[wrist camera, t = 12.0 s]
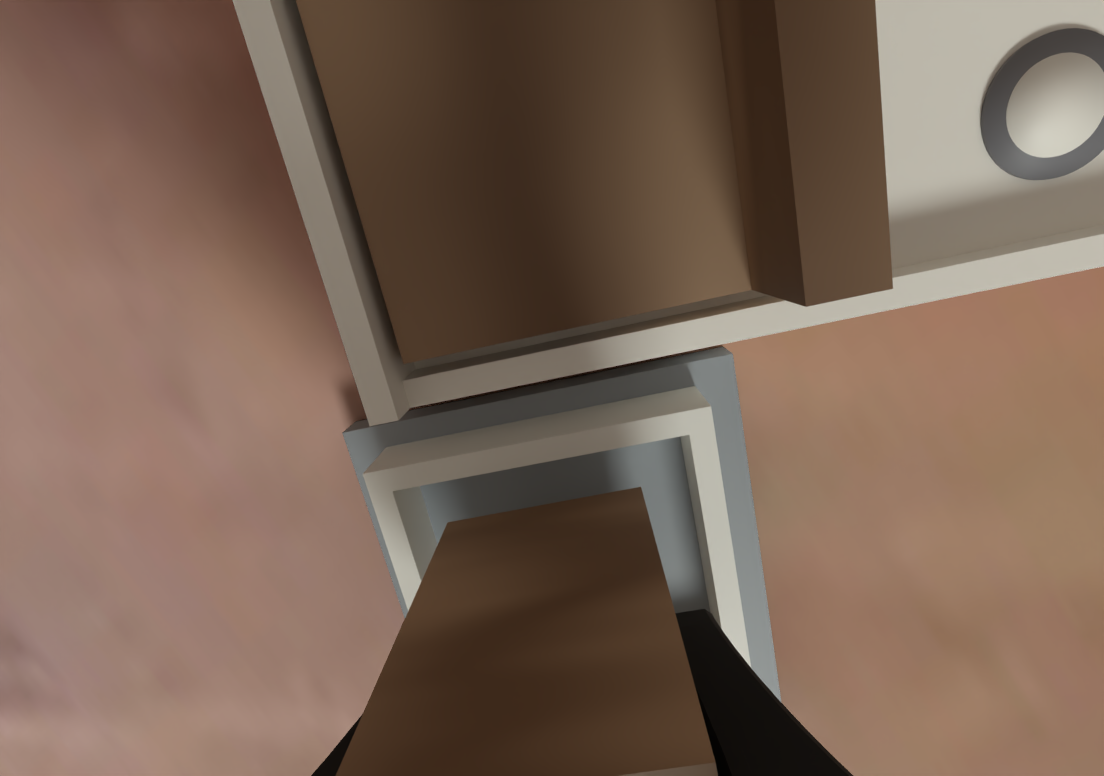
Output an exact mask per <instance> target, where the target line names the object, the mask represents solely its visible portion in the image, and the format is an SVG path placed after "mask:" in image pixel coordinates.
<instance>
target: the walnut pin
mask: <svg viewBox="0 0 1104 776" xmlns="http://www.w3.org/2000/svg"><path fill="white" fill-rule="evenodd" d="M336 776H718V773H717V767H716V762H715V758H714V755H713V751H712V747H711V744H710V740H709V736H708V732H707V729H706V725H705V721H704V718H703V714H702V710H701V707H700V703H699V699H698V696H697V692H696V688H695V684H694V681H693V677H692V673H691V670H690V666H689V662H688V659H687V655H686V651H685V647H684V644H683V640H682V636H681V633H680V629H679V625H678V622H677V618H676V614H675V611H674V607H673V603H672V599H671V596H670V592H669V588H668V585H667V581H666V577H665V574H664V570H663V566H662V562H661V559H660V555H659V551H658V548H657V544H656V540H655V537H654V533H653V529H652V526H651V522H650V518H649V514H648V511H647V507H646V503H645V500H644V496H643V492H642V489H641V487H636V488H631V489H626V490H620V491H615V492H609V493H604V494H598V495H593V496H588V497H582V498H577V499H571V500H566V501H561V502H555V503H550V504H544V505H539V506H533V507H528V508H523V509H517V510H512V511H506V512H501V513H496V514H490V515H485V516H479V517H474V518H468V519H463V520H458V521H452V522H447V525H446V527H445V529H444V532H443V534H442V536H441V538H440V541H439V543H438V545H437V547H436V550H435V552H434V554H433V556H432V559H431V561H430V563H429V565H428V568H427V570H426V572H425V575H424V577H423V579H422V581H421V584H420V586H419V588H418V590H417V593H416V595H415V597H414V599H413V602H412V604H411V606H410V608H409V611H408V613H407V615H406V618H405V620H404V622H403V624H402V627H401V629H400V631H399V633H398V636H397V638H396V640H395V642H394V645H393V647H392V649H391V651H390V654H389V656H388V658H387V661H386V663H385V665H384V667H383V670H382V672H381V674H380V676H379V679H378V681H377V683H376V685H375V688H374V690H373V692H372V694H371V697H370V699H369V701H368V704H367V706H366V708H365V710H364V713H363V715H362V717H361V719H360V722H359V724H358V726H357V728H356V731H355V733H354V735H353V737H352V740H351V742H350V744H349V747H348V749H347V751H346V753H345V756H344V758H343V760H342V762H341V765H340V767H339V769H338V771H337V774H336Z"/></svg>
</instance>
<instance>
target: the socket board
mask: <svg viewBox="0 0 1104 776" xmlns="http://www.w3.org/2000/svg"><path fill="white" fill-rule="evenodd" d="M343 436H344V439H345V442H346V445H347V448H348V451H349V454H350V457H351V460H352V463H353V466H354V469H355V472H356V475H357V478H358V481H359V484H360V487H361V489H362V492H363V495H364V498H365V501H366V504H367V507H368V510H369V513H370V516H371V519H372V522H373V525H374V528H375V531H376V534H377V537H378V540H379V543H380V546H381V549H382V552H383V555H384V558H385V561H386V564H387V567H388V570H389V573H390V576H391V579H392V582H393V585H394V588H395V591H396V594H397V596H398V599H399V602H400V605H401V608H402V611H403V614H404V617H405V618H406V615H407V613H408V611H409V608H410V606H411V604H412V602H413V599H414V597H415V595H416V593H417V590H418V588H419V586H420V584H421V581H422V579H423V577H424V575H425V572H426V570H427V568H428V565H429V563H430V561H431V559H432V556H433V554H434V552H435V550H436V547H437V545H438V543H439V541H440V538H441V536H442V534H443V532H444V529H445V527H446V525H447V522H452V521H458V520H463V519H468V518H474V517H479V516H485V515H490V514H496V513H501V512H506V511H512V510H517V509H523V508H528V507H533V506H539V505H544V504H550V503H555V502H561V501H566V500H571V499H577V498H582V497H588V496H593V495H598V494H604V493H609V492H615V491H620V490H626V489H631V488H636V487H641V489H642V492H643V496H644V500H645V503H646V507H647V511H648V514H649V518H650V522H651V526H652V529H653V533H654V537H655V540H656V544H657V548H658V551H659V555H660V559H661V562H662V566H663V570H664V574H665V577H666V581H667V585H668V588H669V592H670V596H671V599H672V603H673V607H674V611H675V613H680V612H687V611H693V610H699V609H706V610H707V611H709V612H710V613H712V615H713V617H714V618H715V620H716V621H717V623H718V624H719V626H720V627H721V629H722V630H723V632H724V633H725V635H726V636H727V637H728V639H729V640H730V642H731V643H732V644H733V646H734V647H735V648H736V649H737V651H738V652H739V653H740V655H741V656H742V657H743V658H744V660H745V661H746V662H747V663H748V665H749V666H750V667H751V668H752V670H753V671H754V672H755V673H756V674H757V675H758V677H759V678H760V679H761V680H762V681H763V682H764V684H765V685H766V686H767V687H768V688H769V689H770V690H771V691H772V693H773V694H774V695H775V696H776V697H777V698H778V699H779V701H780V702H781V697H780V689H779V682H778V675H777V668H776V661H775V654H774V646H773V639H772V632H771V625H770V618H769V611H768V603H767V596H766V589H765V582H764V575H763V568H762V560H761V553H760V546H759V539H758V532H757V525H756V518H755V510H754V503H753V496H752V489H751V482H750V475H749V467H748V460H747V453H746V446H745V439H744V432H743V424H742V417H741V410H740V403H739V396H738V389H737V381H736V374H735V367H734V360H733V354H732V353H731V352H730V351H728V350H727V349H726V348H724V347H719V348H714V349H709V350H704V351H699V352H694V353H690V354H685V355H680V356H675V357H670V358H665V359H660V360H655V361H650V362H645V363H641V364H636V365H631V366H626V367H621V368H616V369H611V370H606V371H601V372H596V373H592V374H587V375H582V376H577V377H572V378H567V379H562V380H557V381H552V382H547V383H543V384H538V385H533V386H528V387H523V388H518V389H513V390H508V391H503V392H498V393H494V394H489V395H484V396H479V397H474V398H469V399H464V400H459V401H454V402H449V403H445V404H440V405H435V406H430V407H425V408H420V409H415V410H410V411H407V412H406V413H405V414H404V415H403V416H402V417H401V418H400V420H398V421H393V422H388V423H383V424H378V425H373V426H369V423H368V420H367V419H366V420H361V421H356V422H355V423H353V424H352V425H351V426H350V427H349V428H348V429H346V430H345V431H344V432H343Z"/></svg>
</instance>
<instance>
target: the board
mask: <svg viewBox="0 0 1104 776" xmlns="http://www.w3.org/2000/svg"><path fill="white" fill-rule="evenodd" d="M232 1H233V4H234V7H235V10H236V13H237V16H238V19H239V22H240V25H241V28H242V32H243V35H244V38H245V41H246V44H247V47H248V50H249V53H250V56H251V60H252V63H253V66H254V69H255V72H256V75H257V78H258V81H259V84H260V87H261V91H262V94H263V97H264V100H265V103H266V106H267V109H268V112H269V115H270V119H271V122H272V125H273V128H274V131H275V134H276V137H277V140H278V143H279V146H280V150H281V153H282V156H283V159H284V162H285V165H286V168H287V171H288V174H289V178H290V181H291V184H292V187H293V190H294V193H295V196H296V199H297V202H298V205H299V209H300V212H301V215H302V218H303V221H304V224H305V227H306V230H307V233H308V237H309V240H310V243H311V246H312V249H313V252H314V255H315V258H316V261H317V264H318V268H319V271H320V274H321V277H322V280H323V283H324V286H325V289H326V292H327V295H328V299H329V302H330V305H331V308H332V311H333V314H334V317H335V320H336V323H337V327H338V330H339V333H340V336H341V339H342V342H343V345H344V348H345V351H346V354H347V358H348V361H349V364H350V367H351V370H352V373H353V376H354V379H355V382H356V386H357V389H358V392H359V395H360V398H361V401H362V404H363V407H364V410H365V413H366V417H367V420H368V423H369V426H373V425H378V424H383V423H388V422H393V421H398V420H400V418H401V417H402V416H403V415H404V414H405V413H406V412H407V411H408V410H409V409H410V408H413V407H418V406H423V405H428V404H433V403H437V402H442V401H447V400H452V399H457V398H462V397H467V396H472V395H477V394H481V393H486V392H491V391H496V390H501V389H506V388H511V387H516V386H521V385H525V384H530V383H535V382H540V381H545V380H550V379H555V378H560V377H565V376H570V375H574V374H579V373H584V372H589V371H594V370H599V369H604V368H609V367H614V366H618V365H623V364H628V363H633V362H638V361H643V360H648V359H653V358H658V357H662V356H667V355H672V354H677V353H682V352H687V351H692V350H697V349H702V348H706V347H711V346H716V345H721V344H726V343H731V342H736V341H741V340H746V339H750V338H755V337H760V336H765V335H770V334H775V333H780V332H785V331H790V330H794V329H799V328H804V327H809V326H814V325H819V324H824V323H829V322H834V321H838V320H843V319H848V318H853V317H858V316H863V315H868V314H873V313H878V312H882V311H887V310H892V309H897V308H902V307H907V306H912V305H917V304H922V303H926V302H931V301H936V300H941V299H946V298H951V297H956V296H961V295H966V294H970V293H975V292H980V291H985V290H990V289H995V288H1000V287H1005V286H1010V285H1014V284H1019V283H1024V282H1029V281H1034V280H1039V279H1044V278H1049V277H1054V276H1058V275H1063V274H1068V273H1073V272H1078V271H1083V270H1088V269H1093V268H1098V267H1102V266H1104V0H875V5H876V21H877V37H878V53H879V70H880V86H881V102H882V118H883V134H884V150H885V166H886V183H887V199H888V215H889V231H890V247H891V263H892V279H893V289H890V290H885V291H880V292H875V293H870V294H866V295H861V296H856V297H851V298H846V299H842V300H837V301H832V302H827V303H822V304H817V305H813V306H808V307H805V306H801V305H798V304H795V303H792V302H789V301H785V300H782V299H779V298H776V297H773V296H769V295H766V294H763V293H760V292H757V291H753V290H750V291H745V292H740V293H735V294H731V295H726V296H721V297H717V298H712V299H707V300H702V301H698V302H693V303H688V304H684V305H679V306H674V307H670V308H665V309H660V310H655V311H651V312H646V313H641V314H637V315H632V316H627V317H622V318H618V319H613V320H608V321H604V322H599V323H594V324H590V325H585V326H580V327H575V328H571V329H566V330H561V331H557V332H552V333H547V334H543V335H538V336H533V337H528V338H524V339H519V340H514V341H510V342H505V343H500V344H495V345H491V346H486V347H481V348H477V349H472V350H467V351H463V352H458V353H453V354H448V355H444V356H439V357H434V358H430V359H425V360H420V361H416V362H411V363H406V364H403V361H402V357H401V354H400V350H399V347H398V344H397V340H396V337H395V334H394V330H393V327H392V323H391V320H390V317H389V313H388V310H387V307H386V303H385V300H384V297H383V293H382V290H381V286H380V283H379V280H378V276H377V273H376V270H375V266H374V263H373V259H372V256H371V253H370V249H369V246H368V243H367V239H366V236H365V232H364V229H363V226H362V222H361V219H360V216H359V212H358V209H357V205H356V202H355V199H354V195H353V192H352V189H351V185H350V182H349V178H348V175H347V172H346V168H345V165H344V162H343V158H342V155H341V151H340V148H339V145H338V141H337V138H336V135H335V131H334V128H333V124H332V121H331V118H330V114H329V111H328V108H327V104H326V101H325V98H324V94H323V91H322V87H321V84H320V81H319V77H318V74H317V71H316V67H315V64H314V60H313V57H312V54H311V50H310V47H309V44H308V40H307V37H306V33H305V30H304V27H303V23H302V20H301V17H300V13H299V10H298V6H297V3H296V0H232Z"/></svg>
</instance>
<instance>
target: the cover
mask: <svg viewBox="0 0 1104 776" xmlns="http://www.w3.org/2000/svg"><path fill="white" fill-rule="evenodd" d="M296 3H297V6H298V10H299V13H300V17H301V20H302V23H303V27H304V30H305V33H306V37H307V40H308V44H309V47H310V50H311V54H312V57H313V60H314V64H315V67H316V71H317V74H318V77H319V81H320V84H321V87H322V91H323V94H324V98H325V101H326V104H327V108H328V111H329V114H330V118H331V121H332V124H333V128H334V131H335V135H336V138H337V141H338V145H339V148H340V151H341V155H342V158H343V162H344V165H345V168H346V172H347V175H348V178H349V182H350V185H351V189H352V192H353V195H354V199H355V202H356V205H357V209H358V212H359V216H360V219H361V222H362V226H363V229H364V232H365V236H366V239H367V243H368V246H369V249H370V253H371V256H372V259H373V263H374V266H375V270H376V273H377V276H378V280H379V283H380V286H381V290H382V293H383V297H384V300H385V303H386V307H387V310H388V313H389V317H390V320H391V323H392V327H393V330H394V334H395V337H396V340H397V344H398V347H399V350H400V354H401V357H402V361H403V364H406V363H411V362H416V361H420V360H425V359H430V358H434V357H439V356H444V355H448V354H453V353H458V352H463V351H467V350H472V349H477V348H481V347H486V346H491V345H495V344H500V343H505V342H510V341H514V340H519V339H524V338H528V337H533V336H538V335H543V334H547V333H552V332H557V331H561V330H566V329H571V328H575V327H580V326H585V325H590V324H594V323H599V322H604V321H608V320H613V319H618V318H622V317H627V316H632V315H637V314H641V313H646V312H651V311H655V310H660V309H665V308H670V307H674V306H679V305H684V304H688V303H693V302H698V301H702V300H707V299H712V298H717V297H721V296H726V295H731V294H735V293H740V292H745V291H750V290H753V291H757V292H760V293H763V294H766V295H769V296H773V297H776V298H779V299H782V300H785V301H789V302H792V303H795V304H798V305H801V306H805V307H808V306H813V305H817V304H822V303H827V302H832V301H837V300H842V299H846V298H851V297H856V296H861V295H866V294H870V293H875V292H880V291H885V290H890V289H893V279H892V263H891V247H890V231H889V215H888V199H887V183H886V166H885V150H884V134H883V118H882V102H881V86H880V70H879V53H878V37H877V21H876V5H875V0H296Z"/></svg>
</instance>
